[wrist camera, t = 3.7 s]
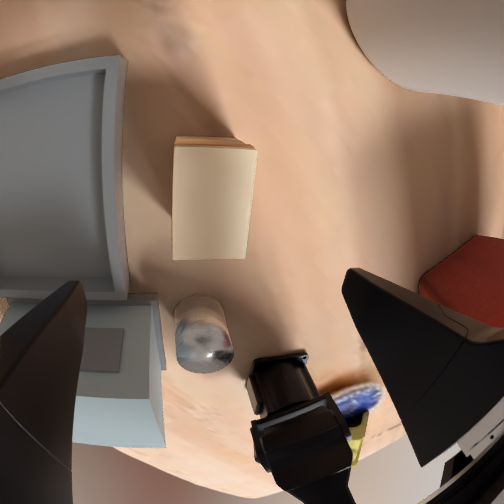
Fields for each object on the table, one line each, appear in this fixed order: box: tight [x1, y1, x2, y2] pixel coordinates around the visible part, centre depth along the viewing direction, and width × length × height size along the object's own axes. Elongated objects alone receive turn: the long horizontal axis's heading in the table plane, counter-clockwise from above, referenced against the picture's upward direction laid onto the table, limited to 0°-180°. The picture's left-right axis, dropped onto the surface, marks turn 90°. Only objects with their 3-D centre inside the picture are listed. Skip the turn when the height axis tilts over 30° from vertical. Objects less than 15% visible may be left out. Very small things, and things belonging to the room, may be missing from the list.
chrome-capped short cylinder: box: [174, 295, 234, 373], centre depth 23 cm, size 4×4×5 cm
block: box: [172, 136, 258, 260], centre depth 17 cm, size 4×6×6 cm
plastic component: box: [348, 412, 369, 467], centre depth 49 cm, size 20×7×10 cm
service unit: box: [0, 293, 166, 448], centre depth 18 cm, size 15×9×10 cm, turn 83°
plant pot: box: [419, 235, 504, 328], centre depth 26 cm, size 19×19×17 cm
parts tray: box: [0, 55, 130, 300], centre depth 15 cm, size 15×17×2 cm
